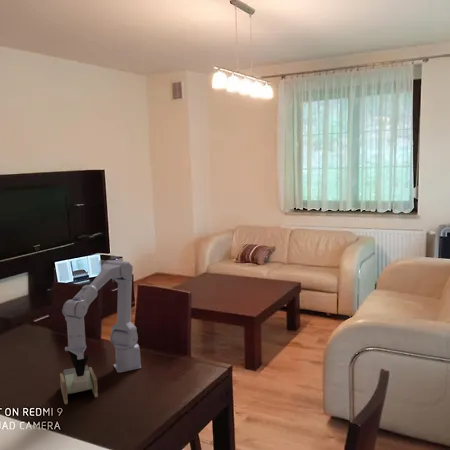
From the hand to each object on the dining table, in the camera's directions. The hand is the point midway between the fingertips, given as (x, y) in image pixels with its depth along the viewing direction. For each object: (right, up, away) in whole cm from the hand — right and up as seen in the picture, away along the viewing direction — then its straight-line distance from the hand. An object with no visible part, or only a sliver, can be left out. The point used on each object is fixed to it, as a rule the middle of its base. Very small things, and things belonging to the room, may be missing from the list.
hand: (78, 371), depth 161 cm
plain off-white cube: (0, -5, +1) cm, 5 cm away
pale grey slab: (-2, -6, +5) cm, 8 cm away
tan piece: (-1, -9, +3) cm, 10 cm away
